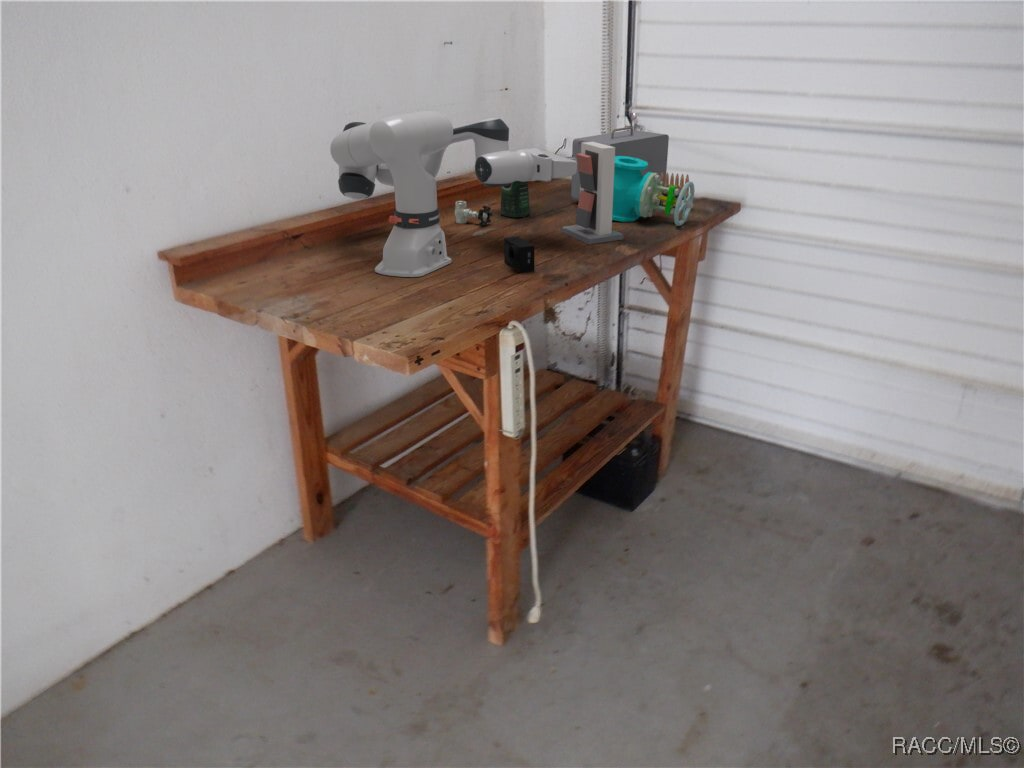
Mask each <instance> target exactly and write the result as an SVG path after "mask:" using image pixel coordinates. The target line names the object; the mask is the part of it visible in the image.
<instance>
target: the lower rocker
mask: <svg viewBox="0 0 1024 768" xmlns="http://www.w3.org/2000/svg"><path fill="white" fill-rule="evenodd" d="M594 196H595V194H592V193H589V192H587V191H583V190H581V192H580V197H579V201H578V204H577V209H576V215H575V221H574V225H579V226H581V227H584V228H589V223H590V218H591V212H592V207H593V201H594Z"/></svg>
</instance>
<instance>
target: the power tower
mask: <svg viewBox="0 0 1024 768" xmlns="http://www.w3.org/2000/svg"><path fill="white" fill-rule="evenodd" d="M581 154H585V155H588V156H591V161H592V170H593V178H594V187H595V190H594V191H589V190H586V189H583V188H581V185H580V192H581V190H583V191H587V192H589V193H592V194H595V196H594V201H593V207H592V212H591V218H590V223H589V228H584V227H581V226H579V225H577V224H574V225H565V226H561V233H563V234H565V235H567V236H570V237H572V238H574V239H576V240H578V241H581V242H582V243H584V244H587V245H594V244H603V243H608V242H614V241H620V240H621V241H623V240H624V233H621V232H620V231H617V230H614V229H612V228H613V227H612V226H613V220H612V208H613V186H614V164H615V147H612V146H608V145H604V144H600V143H596V142H583V143H581Z"/></svg>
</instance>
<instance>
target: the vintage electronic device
mask: <svg viewBox="0 0 1024 768" xmlns="http://www.w3.org/2000/svg"><path fill="white" fill-rule="evenodd" d="M669 140H670V138H669V135H668V134H665V133H657V132H656V133H655V132H649V131H643V130H636V129H635V130H634V128H633V126H626V127H618V128H613V129H612V130H611V132H609V133H603V134H602V133H601V134H597V135H596V134H595V135H592V136H585V137H578V138H574V139H573V141H572V146H571V147H572V150H571V152H572V153H571V154H572V155H571V157H574V158H576V159H577V154H579V153H581V143H583V142H596V143H600V144H604V145H608V146H612V147H615V156H627V157H633V158H638V159H641V160H643V161H646V162H647V163H648V168H646V169H644V170H641V173H642V176H645V175H646V174H647V173H648V172H652V173H658V175H659V176H660V177H661V173H662V172H663V175H664V184H665V177H666V174H667V170H668V169H667V168H668V154H669V143H670V142H669ZM570 194H571V195H570V196H571V200H573V201H577V202H579V197H580V177H579V169H578V161H577V173H576V174H574V175H572V176H571V193H570Z"/></svg>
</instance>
